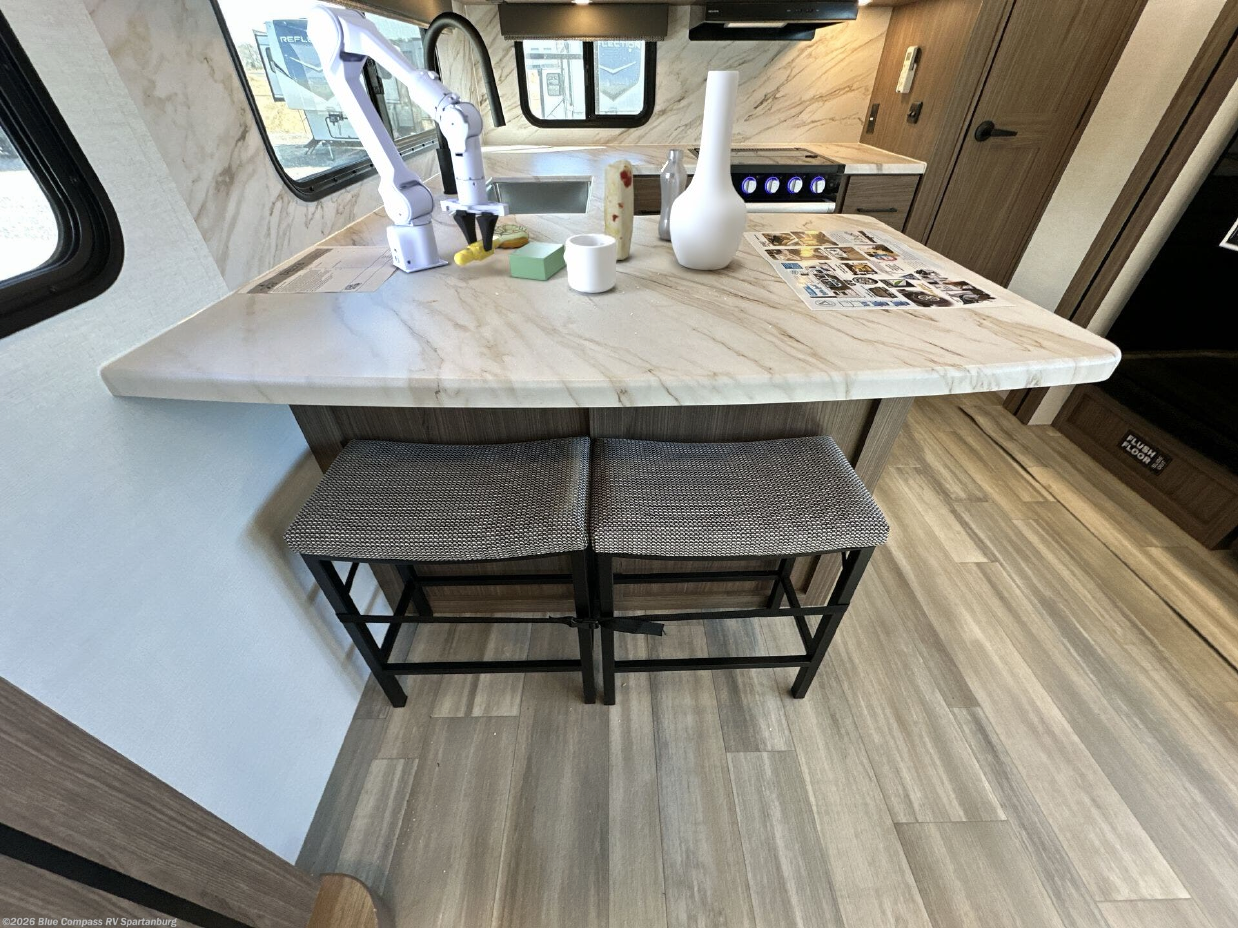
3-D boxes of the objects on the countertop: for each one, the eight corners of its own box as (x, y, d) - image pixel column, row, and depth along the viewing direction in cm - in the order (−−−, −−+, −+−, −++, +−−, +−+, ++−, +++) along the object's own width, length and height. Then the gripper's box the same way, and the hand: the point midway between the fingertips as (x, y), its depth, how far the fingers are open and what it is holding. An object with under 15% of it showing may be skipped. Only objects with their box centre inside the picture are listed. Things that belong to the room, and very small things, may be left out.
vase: (659, 253, 122) (670, 70, 100) (725, 251, 124) (749, 71, 102) (677, 276, 109) (693, 71, 87) (750, 272, 111) (784, 71, 89)
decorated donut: (496, 251, 122) (494, 235, 120) (483, 241, 130) (480, 225, 127) (536, 245, 126) (535, 229, 124) (521, 236, 134) (519, 220, 131)
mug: (582, 273, 110) (580, 228, 104) (626, 279, 107) (627, 233, 101) (557, 291, 101) (554, 243, 95) (605, 298, 98) (604, 249, 93)
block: (545, 280, 106) (543, 258, 103) (511, 276, 108) (508, 254, 105) (565, 265, 114) (564, 244, 112) (533, 262, 116) (531, 241, 113)
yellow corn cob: (468, 268, 103) (465, 253, 101) (452, 266, 104) (449, 251, 102) (506, 247, 115) (504, 233, 113) (491, 245, 116) (489, 231, 114)
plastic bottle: (683, 242, 130) (691, 152, 117) (657, 242, 130) (662, 151, 117) (682, 236, 135) (688, 148, 122) (656, 236, 135) (660, 148, 122)
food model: (632, 264, 116) (634, 163, 103) (603, 263, 116) (602, 163, 103) (632, 251, 123) (635, 156, 111) (605, 251, 123) (604, 156, 111)
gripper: (426, 178, 99) (441, 251, 107) (492, 183, 95) (502, 258, 104) (446, 173, 104) (459, 242, 112) (510, 177, 100) (518, 249, 109)
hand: (481, 249), depth 108 cm, fingers closed on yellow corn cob, 3 cm apart
